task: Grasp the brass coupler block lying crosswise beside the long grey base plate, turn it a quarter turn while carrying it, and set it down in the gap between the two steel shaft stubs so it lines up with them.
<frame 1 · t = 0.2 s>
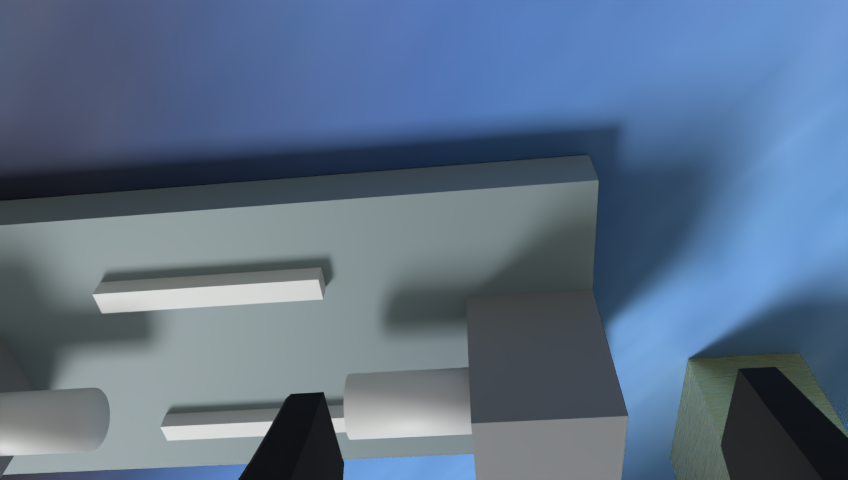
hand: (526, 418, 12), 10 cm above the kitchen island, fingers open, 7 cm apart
coupler: (729, 407, 26), on the kitchen island
long grey base plate: (249, 326, 24), on the kitchen island
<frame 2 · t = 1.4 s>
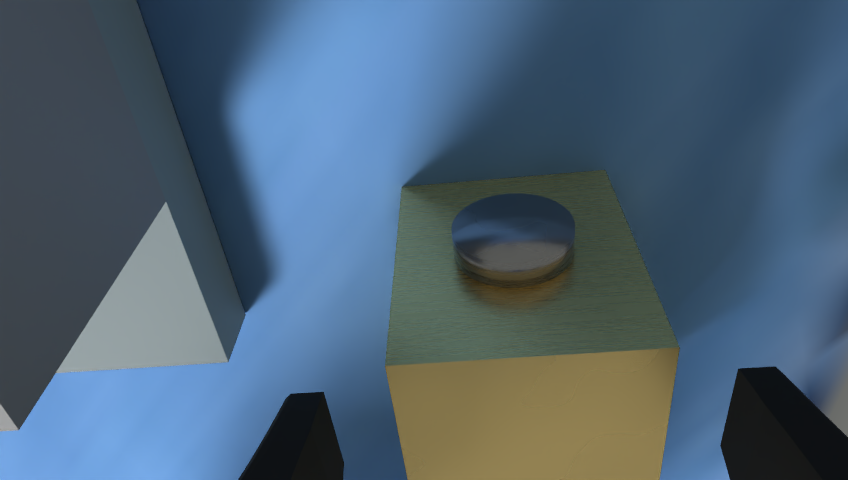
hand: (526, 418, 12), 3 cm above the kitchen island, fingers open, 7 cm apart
coupler: (507, 292, 15), on the kitchen island
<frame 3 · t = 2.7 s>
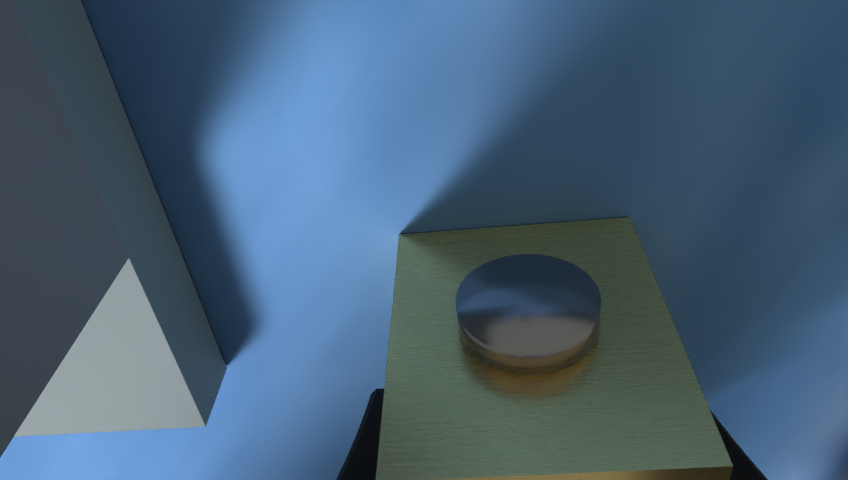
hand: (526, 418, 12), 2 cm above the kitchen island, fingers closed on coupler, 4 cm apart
coupler: (517, 349, 13), on the kitchen island, touching gripper
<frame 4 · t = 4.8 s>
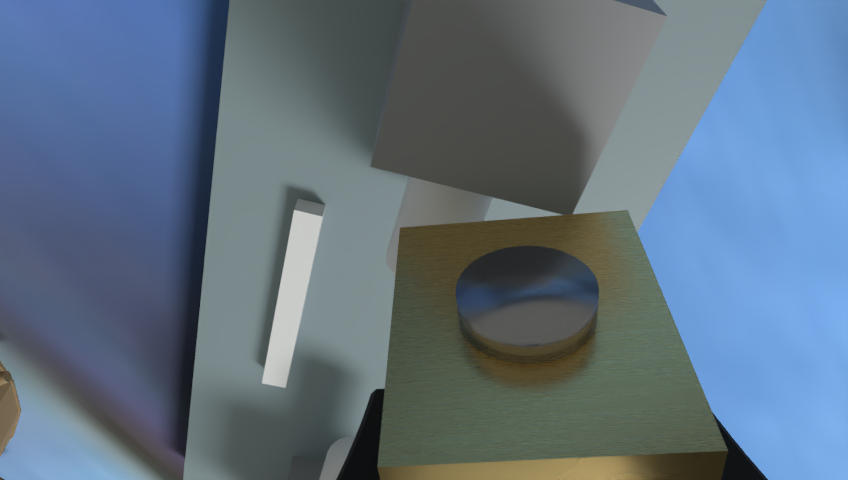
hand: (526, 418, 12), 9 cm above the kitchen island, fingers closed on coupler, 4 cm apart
coupler: (517, 341, 13), point 8 cm above the kitchen island, touching gripper
long grey base plate: (395, 287, 22), on the kitchen island
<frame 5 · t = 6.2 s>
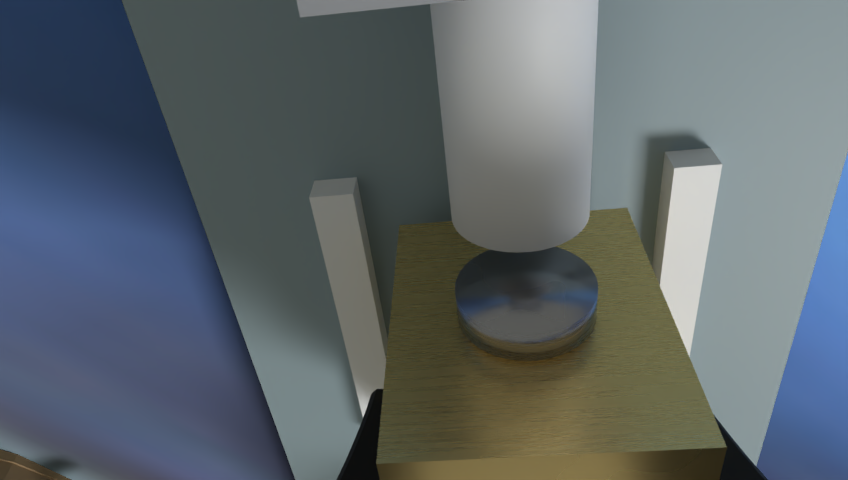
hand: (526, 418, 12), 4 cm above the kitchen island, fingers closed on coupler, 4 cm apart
coupler: (516, 339, 13), point 2 cm above the kitchen island, touching gripper
long grey base plate: (508, 269, 15), on the kitchen island
when the fingers open (4 cm above the kitchen island, at t = 7.0 s): coupler stays where it is, resting on long grey base plate.
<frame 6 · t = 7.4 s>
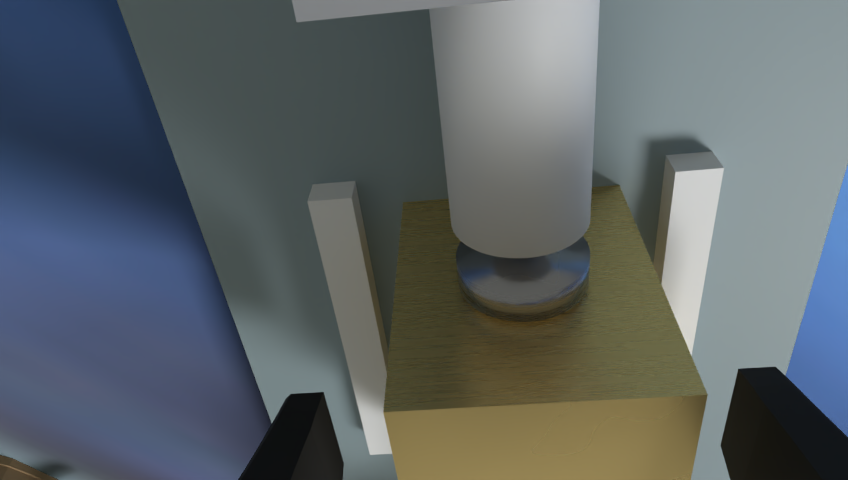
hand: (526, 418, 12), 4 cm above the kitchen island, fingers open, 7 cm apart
coupler: (514, 314, 14), point 1 cm above the kitchen island, touching long grey base plate
long grey base plate: (508, 272, 15), on the kitchen island
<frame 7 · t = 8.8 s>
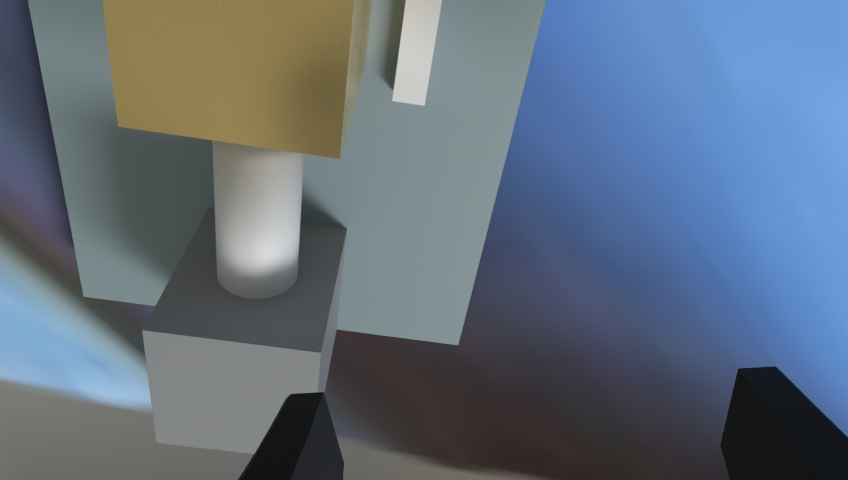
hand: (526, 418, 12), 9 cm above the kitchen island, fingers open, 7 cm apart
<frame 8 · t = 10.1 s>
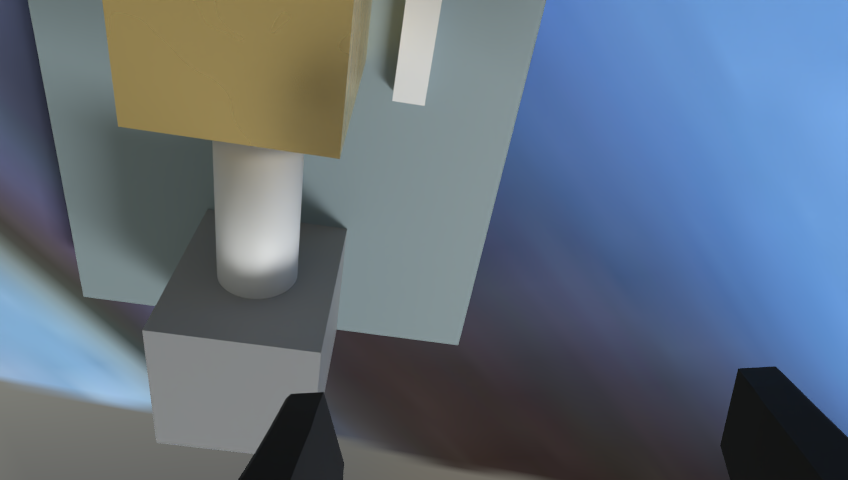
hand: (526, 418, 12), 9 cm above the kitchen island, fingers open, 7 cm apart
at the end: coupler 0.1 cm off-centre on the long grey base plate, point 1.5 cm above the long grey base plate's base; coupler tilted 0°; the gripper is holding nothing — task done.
